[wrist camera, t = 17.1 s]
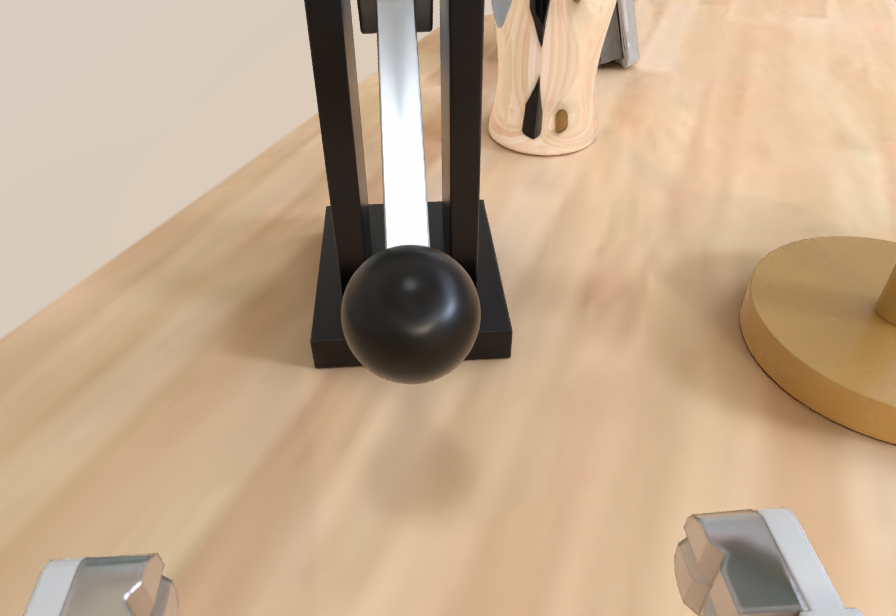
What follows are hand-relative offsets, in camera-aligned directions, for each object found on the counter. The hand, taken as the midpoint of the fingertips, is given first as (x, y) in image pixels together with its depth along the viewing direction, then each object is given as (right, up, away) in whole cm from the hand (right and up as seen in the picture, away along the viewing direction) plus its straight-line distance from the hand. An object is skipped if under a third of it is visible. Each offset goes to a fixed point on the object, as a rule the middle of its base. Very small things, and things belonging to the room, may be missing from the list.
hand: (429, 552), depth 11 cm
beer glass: (+6, +14, +29) cm, 32 cm away
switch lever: (-1, +8, +10) cm, 13 cm away
